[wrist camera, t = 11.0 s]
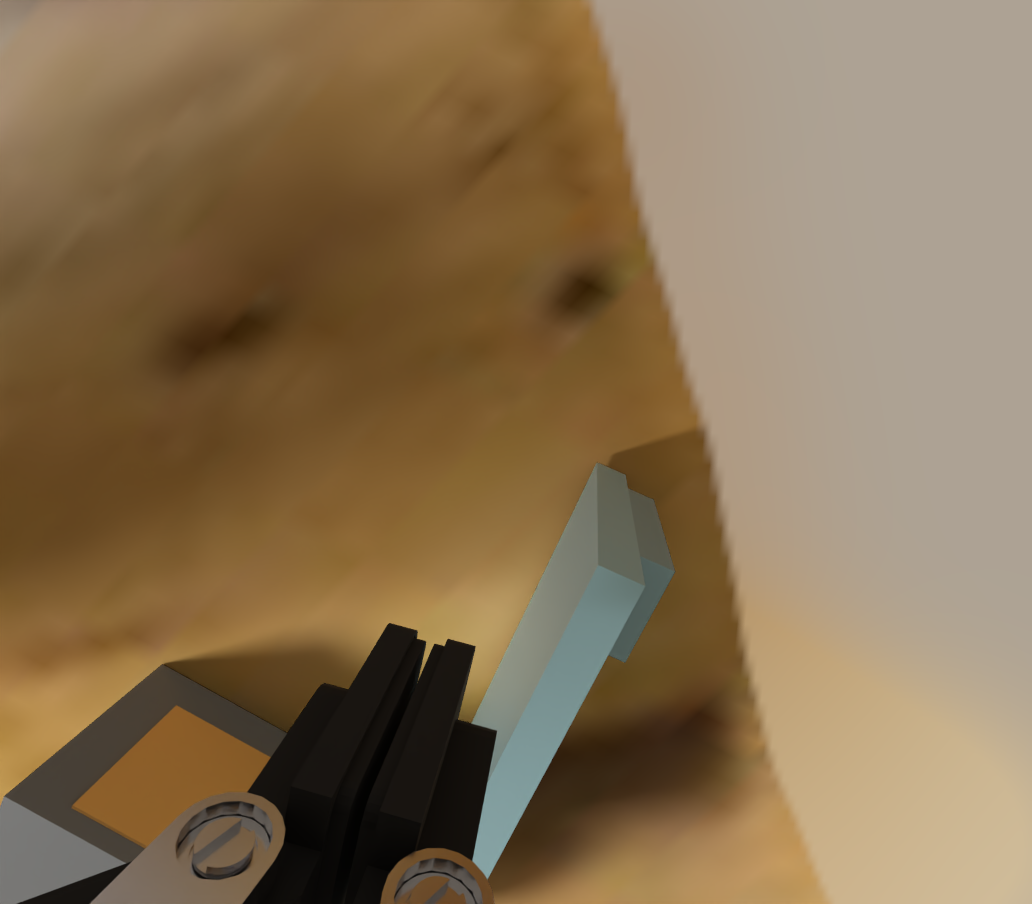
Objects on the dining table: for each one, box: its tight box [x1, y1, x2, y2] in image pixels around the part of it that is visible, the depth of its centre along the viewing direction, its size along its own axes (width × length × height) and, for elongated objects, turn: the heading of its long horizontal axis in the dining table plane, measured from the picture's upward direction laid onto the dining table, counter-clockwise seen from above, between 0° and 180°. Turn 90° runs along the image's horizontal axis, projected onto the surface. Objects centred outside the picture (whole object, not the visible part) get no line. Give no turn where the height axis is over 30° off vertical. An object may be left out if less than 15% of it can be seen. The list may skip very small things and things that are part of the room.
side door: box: [471, 462, 675, 879], centre depth 21 cm, size 20×2×10 cm, turn 157°
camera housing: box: [0, 664, 287, 904], centre depth 26 cm, size 15×7×8 cm, turn 62°
